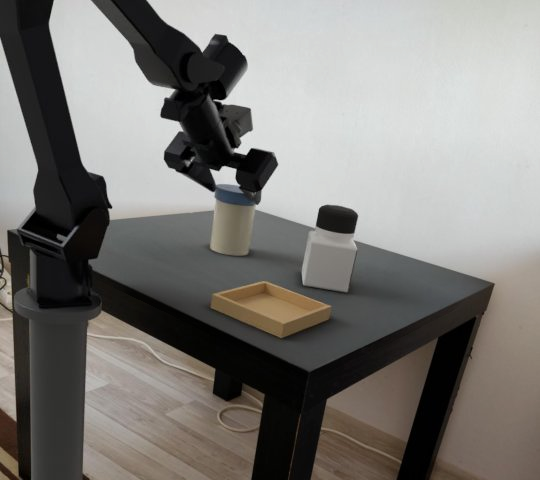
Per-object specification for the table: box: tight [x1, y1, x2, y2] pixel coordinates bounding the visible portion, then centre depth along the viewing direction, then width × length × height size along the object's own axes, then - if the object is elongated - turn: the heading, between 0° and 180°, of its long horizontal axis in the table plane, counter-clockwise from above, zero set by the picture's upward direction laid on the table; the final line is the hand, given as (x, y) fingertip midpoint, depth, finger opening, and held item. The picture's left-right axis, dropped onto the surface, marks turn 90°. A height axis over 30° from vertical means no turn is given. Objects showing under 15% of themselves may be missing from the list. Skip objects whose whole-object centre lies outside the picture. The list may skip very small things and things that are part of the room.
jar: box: [209, 198, 257, 257], centre depth 99 cm, size 7×7×10 cm
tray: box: [210, 280, 332, 339], centre depth 75 cm, size 11×11×2 cm
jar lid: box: [213, 183, 257, 206], centre depth 97 cm, size 7×7×2 cm
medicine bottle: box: [301, 204, 359, 293], centre depth 90 cm, size 7×7×12 cm
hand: (236, 196), depth 98 cm, fingers open, 9 cm apart
